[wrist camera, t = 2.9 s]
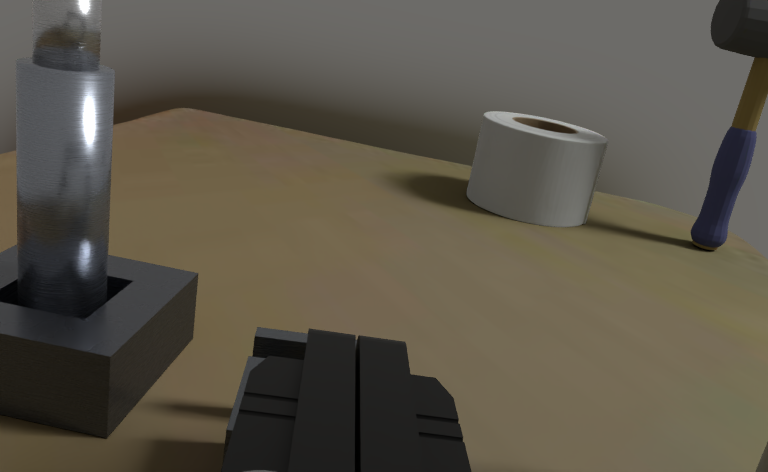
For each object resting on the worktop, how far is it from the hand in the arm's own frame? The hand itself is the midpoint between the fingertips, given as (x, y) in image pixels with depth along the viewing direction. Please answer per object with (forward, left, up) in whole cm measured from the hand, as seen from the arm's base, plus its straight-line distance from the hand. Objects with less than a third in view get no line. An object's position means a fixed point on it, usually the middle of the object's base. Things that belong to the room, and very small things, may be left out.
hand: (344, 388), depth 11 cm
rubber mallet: (-70, -44, -17) cm, 84 cm away
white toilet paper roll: (-54, -59, -17) cm, 82 cm away
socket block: (+2, -30, -16) cm, 34 cm away
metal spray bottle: (+2, -30, -14) cm, 33 cm away
